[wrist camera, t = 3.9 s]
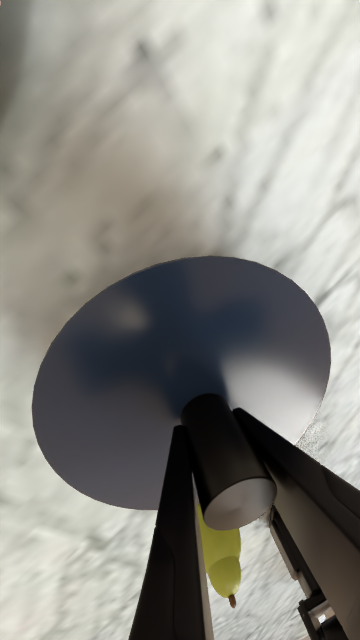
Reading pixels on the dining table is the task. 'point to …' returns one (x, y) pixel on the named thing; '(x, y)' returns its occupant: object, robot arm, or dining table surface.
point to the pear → (221, 559)
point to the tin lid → (182, 383)
